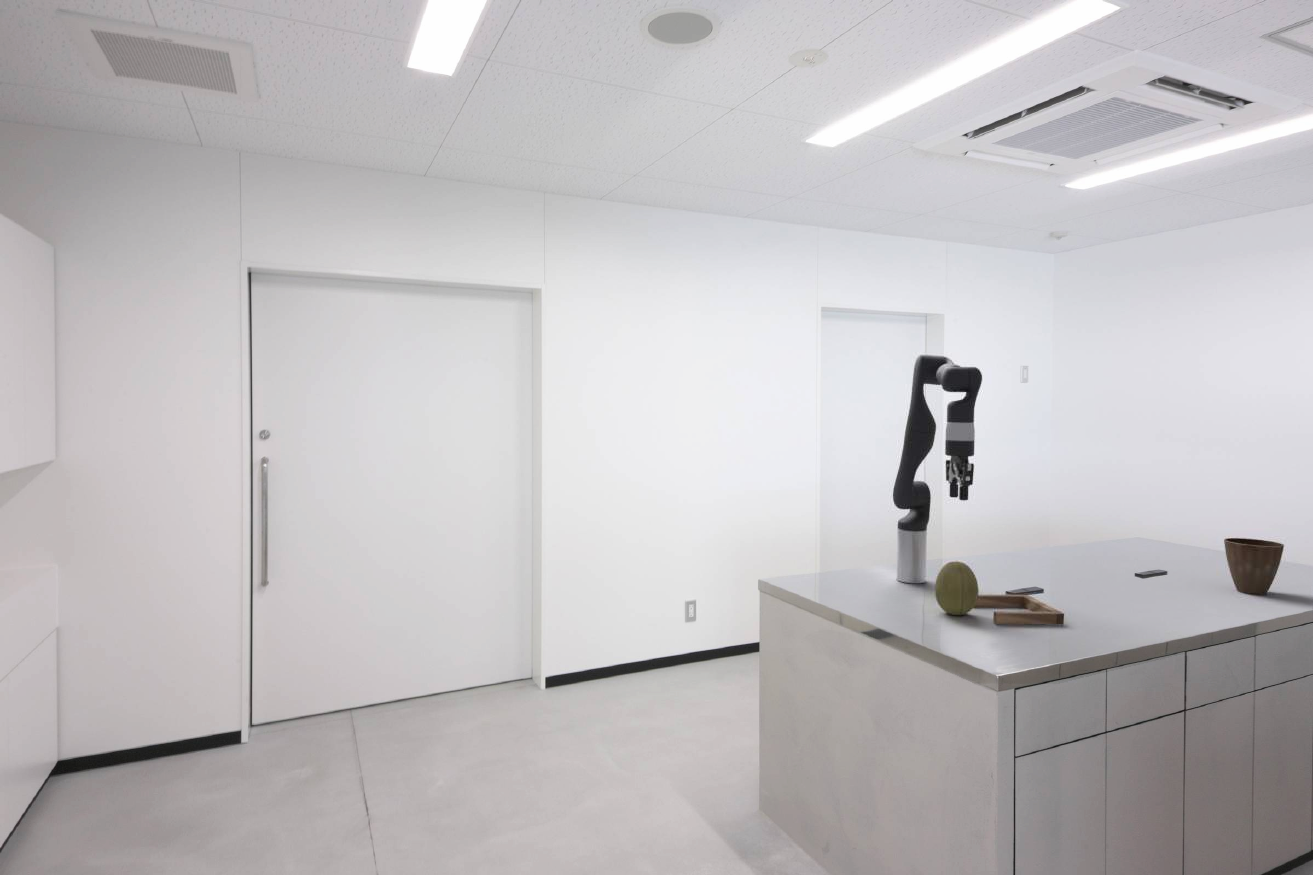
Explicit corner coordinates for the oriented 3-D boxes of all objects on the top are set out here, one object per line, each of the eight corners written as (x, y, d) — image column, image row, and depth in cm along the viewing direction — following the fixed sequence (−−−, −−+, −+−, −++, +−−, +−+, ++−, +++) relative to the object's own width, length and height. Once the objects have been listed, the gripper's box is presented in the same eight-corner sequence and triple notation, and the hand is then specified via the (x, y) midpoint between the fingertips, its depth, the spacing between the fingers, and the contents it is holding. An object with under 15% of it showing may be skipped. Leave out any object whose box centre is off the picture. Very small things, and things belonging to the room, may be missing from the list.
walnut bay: (966, 604, 224) (966, 594, 224) (1027, 604, 224) (1027, 594, 224) (996, 624, 204) (997, 613, 204) (1063, 624, 204) (1064, 613, 204)
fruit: (967, 608, 220) (968, 557, 219) (985, 619, 208) (986, 565, 208) (928, 608, 219) (929, 557, 218) (943, 619, 208) (945, 565, 207)
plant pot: (1219, 584, 250) (1221, 536, 250) (1277, 590, 243) (1279, 540, 242) (1225, 593, 238) (1227, 543, 237) (1286, 600, 230) (1288, 548, 229)
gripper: (984, 440, 204) (983, 502, 205) (962, 437, 219) (961, 495, 219) (956, 440, 204) (955, 502, 205) (936, 437, 219) (935, 495, 219)
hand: (958, 498), depth 212 cm, fingers open, 6 cm apart
